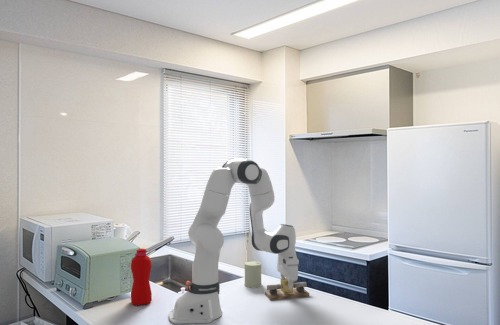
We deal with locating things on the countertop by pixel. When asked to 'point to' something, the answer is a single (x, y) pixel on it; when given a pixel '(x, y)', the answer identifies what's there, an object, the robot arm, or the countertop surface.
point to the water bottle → (141, 278)
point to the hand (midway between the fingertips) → (286, 285)
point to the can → (252, 274)
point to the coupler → (285, 286)
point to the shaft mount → (297, 292)
